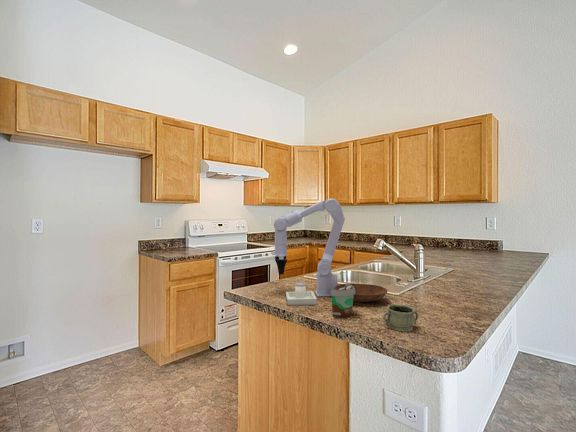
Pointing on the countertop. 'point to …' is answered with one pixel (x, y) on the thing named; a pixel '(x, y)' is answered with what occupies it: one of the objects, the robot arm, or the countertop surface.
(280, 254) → the robot arm
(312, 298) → the tray
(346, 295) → the food container
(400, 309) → the vessel
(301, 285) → the shaker
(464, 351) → the countertop surface
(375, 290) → the bowl
